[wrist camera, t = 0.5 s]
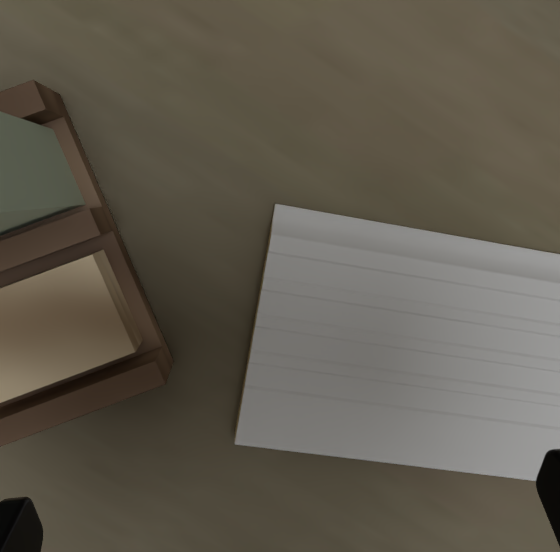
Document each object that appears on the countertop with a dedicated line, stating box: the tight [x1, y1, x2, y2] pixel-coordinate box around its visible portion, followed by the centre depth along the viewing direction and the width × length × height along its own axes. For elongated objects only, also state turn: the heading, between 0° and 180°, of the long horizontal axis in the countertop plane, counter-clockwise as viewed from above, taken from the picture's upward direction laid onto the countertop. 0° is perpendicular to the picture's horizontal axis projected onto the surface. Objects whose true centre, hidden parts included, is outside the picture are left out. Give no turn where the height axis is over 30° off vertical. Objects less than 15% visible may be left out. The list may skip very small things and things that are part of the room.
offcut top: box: [0, 252, 139, 403], centre depth 19 cm, size 4×6×1 cm, turn 110°
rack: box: [0, 80, 174, 447], centre depth 19 cm, size 12×8×3 cm, turn 20°
